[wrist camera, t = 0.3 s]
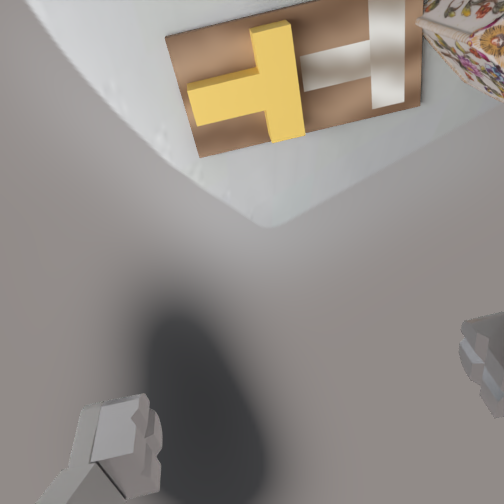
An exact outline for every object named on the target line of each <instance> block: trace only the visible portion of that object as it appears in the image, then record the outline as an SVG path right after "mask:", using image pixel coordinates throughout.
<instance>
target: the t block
mask: <svg viewBox="0 0 504 504" xmlns="http://www.w3.org/2000/svg"><path fill="white" fill-rule="evenodd" d="M249 30H250V36H251V41H252V47H253V52H254V57H255V63H256V67H254V68H250V69H246V70H241V71H237V72H233V73H229V74H225V75H221V76H217V77H212V78H208V79H204V80H200V81H196V82H192V83H187V93H188V96H189V100H190V103H191V107H192V111H193V114H194V118H195V121H196V125H197V126H201V125H206V124H210V123H214V122H218V121H222V120H227V119H231V118H235V117H239V116H243V115H248V114H252V113H256V112H260V111H264V112H265V117H266V123H267V128H268V133H269V136H270V139H271V141H272V143H275V142H279V141H283V140H288V139H292V138H296V137H300V136H305V128H304V120H303V113H302V105H301V98H300V90H299V83H298V75H297V68H296V60H295V53H294V45H293V37H292V30H291V24H290V23H289V22H288V21H287V20H282V21H278V22H274V23H270V24H266V25H262V26H257V27H253V28H249Z"/></svg>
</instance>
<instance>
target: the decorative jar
mask: <svg viewBox="0 0 504 504" xmlns="http://www.w3.org/2000/svg"><path fill="white" fill-rule="evenodd" d="M415 24H416V25H417V26H419V27H421V28H422V35H423V36H424V37H425V39H426V40H427V41H428V42H429V43H430V44H431V46H432V47H433V48H434V49H435V50H436V51H437V52H438V53H439V55H440V56H441V57H442V58H443V59H444V60H445V62H446V63H447V64H448V65H449V66H450V67H451V69H452V70H453V71H454V72H455V73H456V74H457V75H458V76H459V77H460V78H461V80H462V81H463V82H464V83H466V84H469V85H470V86H472V87H474V88H476V89H477V90H479V91H481V92H483V93H485V94H486V95H489V96H490V97H493V98H494V99H496V100H498V101H500V102H503V103H504V0H428V1H427V2H426V3H425V5H424V6H423V15H422V16H421V17H418V18H417V19H416V20H415Z"/></svg>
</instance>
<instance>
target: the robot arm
mask: <svg viewBox="0 0 504 504" xmlns="http://www.w3.org/2000/svg"><path fill="white" fill-rule="evenodd" d="M461 332H462V334H463V335H464V337H465V338H464V339H463V340H462V341H461V342H460V344H459V355H460V359H461V363H462V366H463V368H464V370H465V372H466V374H467V375H468V377H469V379H470V380H471V381H473V382H475V383H477V384H479V385H480V386H481V390H480V396H481V398H482V399H483V401H484V403H485V404H486V406H487V407H488V409H489V410H490V412H491V414H492V415H493V417H494V418H499V417H504V312H499V313H495V314H491V315H486V316H482V317H478V318H474V319H470V320H466V321H464V322H463V323H462V327H461ZM161 448H162V429H161V424H160V420H159V417H158V415H157V413H156V412H155V411H154V410H151V409H149V399H148V398H147V396H146V395H145V393H144V394H138V395H133V396H128V397H123V398H118V399H113V400H109V401H103V402H98V403H94V404H89V405H85V406H84V408H83V409H82V411H81V414H80V418H79V422H78V426H77V431H76V435H75V439H74V444H73V448H72V452H71V456H70V461H69V465H68V468H67V469H63V470H61V472H60V473H59V474H58V475H57V477H56V478H55V479H54V481H53V482H52V483H51V484H50V486H49V487H48V488H47V489H46V491H45V492H44V493H43V495H42V496H41V497H40V498H39V500H38V501H37V502H36V503H35V504H126V499H130V498H134V497H138V496H143V495H147V494H150V493H154V492H158V491H159V490H160V473H161V464H160V463H159V461H158V459H157V458H156V456H157V455H158V453H159V451H160V450H161Z"/></svg>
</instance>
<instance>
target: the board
mask: <svg viewBox="0 0 504 504" xmlns="http://www.w3.org/2000/svg"><path fill="white" fill-rule="evenodd" d="M422 15H423V0H313V1H309V2H305V3H301V4H297V5H293V6H289V7H285V8H281V9H277V10H272V11H268V12H264V13H260V14H256V15H252V16H248V17H244V18H240V19H235V20H231V21H227V22H223V23H219V24H215V25H211V26H207V27H203V28H199V29H194V30H190V31H186V32H182V33H178V34H174V35H170V36H166V37H165V41H166V44H167V48H168V51H169V54H170V58H171V61H172V65H173V68H174V72H175V75H176V78H177V82H178V85H179V89H180V92H181V96H182V99H183V102H184V106H185V109H186V113H187V116H188V120H189V123H190V127H191V130H192V133H193V137H194V140H195V144H196V147H197V151H198V154H199V157H200V158H202V157H206V156H210V155H215V154H219V153H223V152H227V151H232V150H236V149H240V148H244V147H249V146H253V145H257V144H261V143H265V142H270V141H271V139H270V136H269V133H268V128H267V123H266V117H265V112H264V111H260V112H256V113H252V114H248V115H243V116H239V117H235V118H231V119H227V120H222V121H218V122H214V123H210V124H206V125H201V126H197V125H196V121H195V118H194V114H193V111H192V107H191V103H190V100H189V96H188V93H187V83H192V82H196V81H200V80H204V79H208V78H212V77H217V76H221V75H225V74H229V73H233V72H237V71H241V70H246V69H250V68H254V67H256V63H255V57H254V52H253V47H252V41H251V36H250V30H249V28H253V27H257V26H262V25H266V24H270V23H274V22H278V21H282V20H287V21H288V22H289V23H290V24H291V30H292V37H293V45H294V53H295V60H296V68H297V75H298V83H299V90H300V98H301V105H302V113H303V120H304V128H305V133H308V132H312V131H316V130H320V129H325V128H329V127H333V126H337V125H342V124H346V123H350V122H354V121H359V120H363V119H367V118H371V117H376V116H380V115H384V114H388V113H392V112H397V111H401V110H405V109H409V108H414V107H418V106H420V96H421V61H422V28H421V27H419V26H417V25H416V24H415V20H416V19H417V18H418V17H421V16H422Z"/></svg>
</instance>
